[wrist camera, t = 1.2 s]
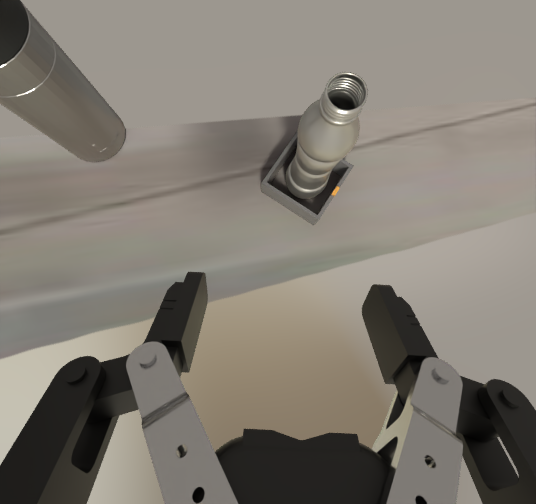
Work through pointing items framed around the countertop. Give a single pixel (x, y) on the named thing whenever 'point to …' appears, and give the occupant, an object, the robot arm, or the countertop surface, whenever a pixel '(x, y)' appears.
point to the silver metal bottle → (326, 134)
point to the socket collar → (340, 168)
